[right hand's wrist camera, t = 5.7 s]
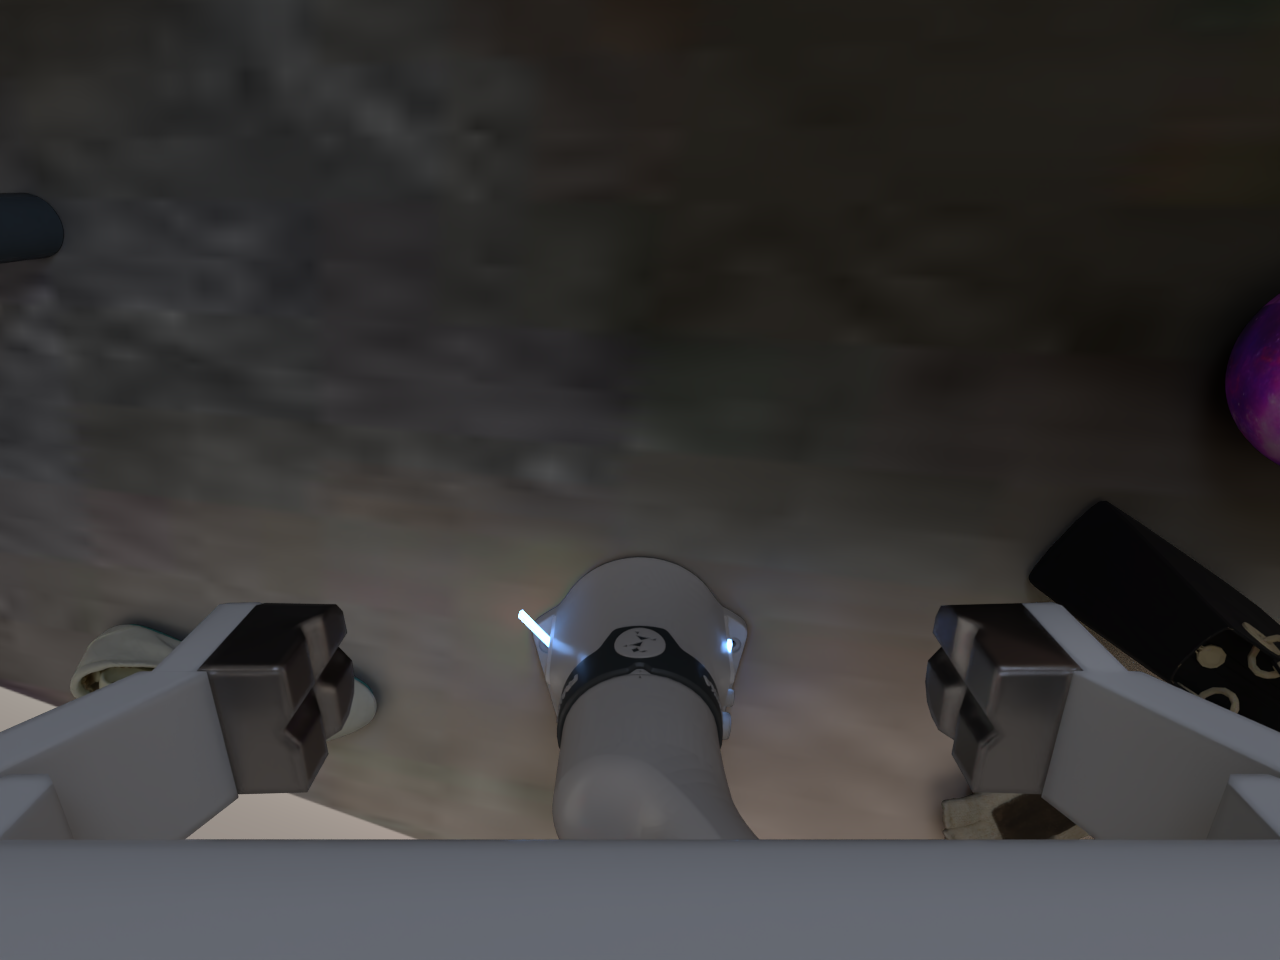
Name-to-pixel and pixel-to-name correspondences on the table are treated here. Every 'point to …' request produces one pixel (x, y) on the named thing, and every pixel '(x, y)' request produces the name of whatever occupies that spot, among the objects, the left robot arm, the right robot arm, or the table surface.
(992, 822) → the pair of gloves
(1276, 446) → the decorative orb
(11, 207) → the bottle
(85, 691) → the ballet flat
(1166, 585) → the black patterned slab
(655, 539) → the table surface
